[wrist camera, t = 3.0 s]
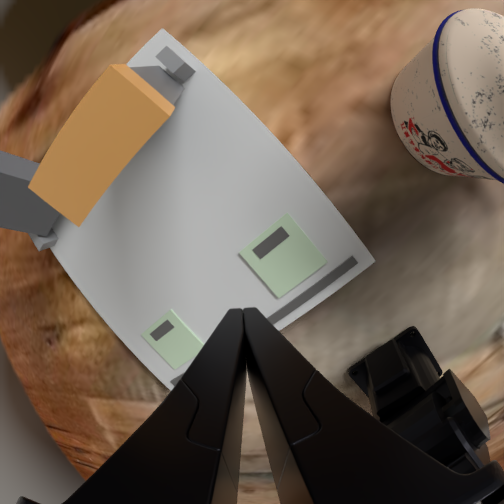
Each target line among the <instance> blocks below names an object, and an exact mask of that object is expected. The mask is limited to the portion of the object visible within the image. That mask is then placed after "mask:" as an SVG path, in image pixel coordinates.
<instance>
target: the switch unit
mask: <svg viewBox="0 0 504 504" xmlns="http://www.w3.org/2000/svg"><path fill="white" fill-rule="evenodd" d="M126 65H127V66H128V67H142V66H160V67H161V68H162V69H164V70H165V71H166V72H167V73H168V74H169V75H170V76H171V77H173V78H174V79H175V80H176V81H177V82H178V83H179V84H180V85H181V86H183V87H184V88H185V89H184V90H183V92H182V93H181V94H180V96H179V97H178V99H177V100H176V102H175V103H174V105H173V106H174V107H175V109H174V111H173V112H172V114H171V116H170V117H169V118H168V119H167V120H166V121H165V122H164V123H163V124H162V125H161V127H160V128H159V129H158V130H157V131H156V132H155V133H154V134H153V135H152V136H151V137H150V138H149V140H148V141H147V142H146V143H145V144H144V145H143V146H142V147H141V149H140V150H139V151H138V152H137V153H136V154H135V155H134V157H133V158H132V159H131V160H130V161H129V162H128V164H127V165H126V166H125V167H124V168H123V170H122V171H121V172H120V173H119V175H118V176H117V177H116V178H115V180H114V181H113V182H112V183H111V185H110V186H109V187H108V188H107V190H106V191H105V192H104V194H103V195H102V196H101V198H100V199H99V200H98V202H97V203H96V204H95V206H94V207H93V208H92V210H91V211H90V213H89V214H88V215H87V217H86V218H85V220H84V221H83V222H82V224H81V225H80V227H78V226H76V225H75V224H74V223H72V222H71V221H70V220H69V219H67V218H66V217H65V216H63V215H62V214H61V213H60V214H59V216H58V217H57V219H56V221H55V222H54V224H53V226H52V228H51V229H50V231H49V233H48V235H47V236H42V235H37V234H32V233H28V234H29V236H30V237H31V239H32V241H33V242H34V244H35V246H36V247H37V249H38V250H39V251H41V250H44V249H47V248H49V247H50V249H51V250H52V252H53V253H54V255H55V256H56V258H57V259H58V261H59V262H60V264H61V265H62V266H63V268H64V269H65V271H66V272H67V273H68V275H69V276H70V278H71V279H72V280H73V282H74V283H75V284H76V286H77V287H78V288H79V290H80V291H81V292H82V293H83V295H84V296H85V297H86V299H87V300H88V301H89V302H90V304H91V305H92V306H93V307H94V309H95V310H96V311H97V312H98V314H99V315H100V316H101V317H102V318H103V320H104V321H105V322H106V323H107V324H108V325H109V327H110V328H111V329H112V330H113V331H114V332H115V334H116V335H117V336H118V337H119V338H120V339H121V340H122V341H123V343H124V344H125V345H126V346H127V347H128V348H129V349H130V350H131V351H132V352H133V353H134V354H135V356H136V357H137V358H138V359H139V360H140V361H141V362H142V363H143V364H144V365H145V366H146V367H147V368H148V369H149V370H150V371H151V372H152V373H153V374H154V375H155V376H156V377H157V378H158V379H159V380H160V381H161V382H162V383H163V384H164V385H165V386H166V387H167V388H168V389H169V390H172V389H173V388H174V386H175V385H176V383H177V382H178V381H179V380H180V379H181V377H182V376H183V374H184V373H185V371H186V370H187V368H188V367H189V366H190V364H191V363H192V361H193V360H194V358H195V357H196V356H197V354H198V353H199V351H200V350H201V348H202V347H203V346H204V344H205V343H206V341H207V340H208V338H209V337H210V336H211V334H212V333H213V331H214V330H215V328H216V327H217V325H218V324H219V323H220V321H221V320H222V318H223V317H224V315H225V314H226V312H227V311H228V310H229V309H231V308H241V309H242V310H243V309H244V308H248V307H256V308H257V309H258V310H259V311H260V312H261V313H262V314H263V315H264V316H265V317H266V318H267V319H268V320H269V321H270V322H271V323H272V324H273V325H274V327H275V328H276V329H277V330H278V331H280V330H281V329H283V328H284V327H286V326H287V325H289V324H290V323H292V322H293V321H295V320H296V319H297V318H299V317H300V316H302V315H303V314H305V313H306V312H308V311H309V310H310V309H312V308H313V307H315V306H316V305H318V304H319V303H320V302H322V301H323V300H325V299H326V298H327V297H329V296H330V295H331V294H333V293H334V292H336V291H337V290H338V289H340V288H341V287H342V286H344V285H345V284H346V283H348V282H349V281H350V280H352V279H353V278H354V277H356V276H357V275H358V274H360V273H361V272H362V271H364V270H365V269H366V268H368V267H369V266H370V265H371V264H373V263H374V262H375V259H374V258H373V256H372V255H371V254H370V252H369V251H368V250H367V248H366V247H365V245H364V244H363V243H362V241H361V240H360V239H359V237H358V236H357V235H356V233H355V232H354V231H353V229H352V228H351V227H350V225H349V224H348V223H347V222H346V220H345V219H344V218H343V216H342V215H341V214H340V213H339V211H338V210H337V209H336V208H335V206H334V205H333V204H332V203H331V201H330V200H329V199H328V198H327V196H326V195H325V194H324V193H323V191H322V190H321V189H320V188H319V187H318V185H317V184H316V183H315V182H314V180H313V179H312V178H311V177H310V176H309V175H308V173H307V172H306V171H305V170H304V169H303V168H302V166H301V165H300V164H299V163H298V162H297V161H296V159H295V158H294V157H293V156H292V155H291V154H290V153H289V151H288V150H287V149H286V148H285V147H284V146H283V145H282V144H281V142H280V141H279V140H278V139H277V138H276V137H275V136H274V135H273V134H272V133H271V132H270V130H269V129H268V128H267V127H266V126H265V125H264V124H263V123H262V122H261V121H260V120H259V119H258V118H257V117H256V116H255V114H254V113H253V112H252V111H251V110H250V109H249V108H248V107H247V106H246V105H245V104H244V103H243V102H242V101H241V100H240V99H239V98H238V97H237V96H236V95H235V94H234V93H233V92H232V91H231V90H230V89H229V88H228V87H227V86H226V85H225V84H224V83H223V82H222V81H221V80H220V79H219V78H218V77H216V76H215V75H214V74H213V73H212V72H211V71H210V70H209V69H208V68H207V67H206V66H205V65H204V64H203V63H202V62H200V61H199V60H198V59H197V58H196V57H195V56H194V55H193V54H192V53H191V52H189V51H188V50H187V49H186V48H185V47H184V46H183V45H182V44H180V43H179V42H178V41H177V40H176V39H175V38H173V37H172V36H171V35H170V34H169V33H168V32H166V31H165V30H164V29H163V28H162V29H161V30H160V31H159V32H158V33H157V34H156V35H155V36H154V37H152V38H151V39H150V40H149V41H148V42H147V43H146V44H145V45H144V46H143V47H142V48H141V49H140V50H139V51H138V52H137V53H136V55H135V56H134V57H133V58H132V59H131V60H130V61H129V62H128V63H127V64H126Z"/></svg>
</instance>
